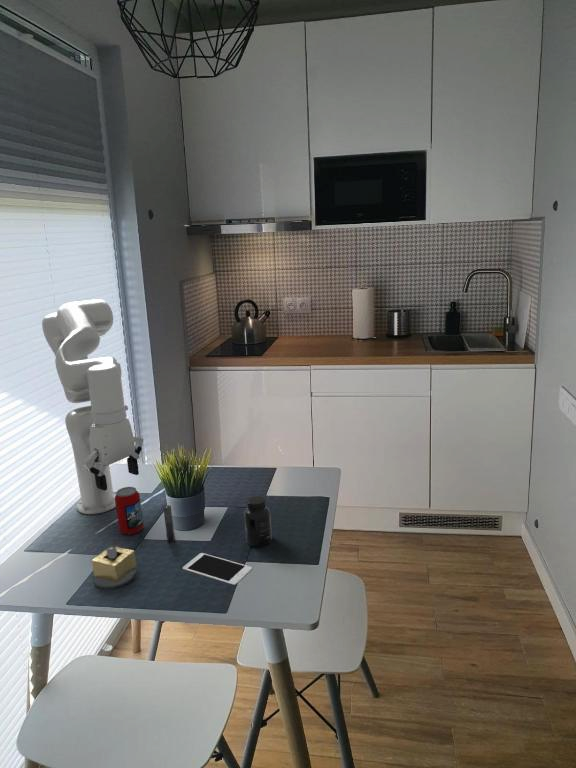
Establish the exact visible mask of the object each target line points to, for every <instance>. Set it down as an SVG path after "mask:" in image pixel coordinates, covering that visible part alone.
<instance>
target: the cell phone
mask: <svg viewBox="0 0 576 768" xmlns="http://www.w3.org/2000/svg"><path fill="white" fill-rule="evenodd" d="M182 570H183V571H187V572H191V573H193V574H197V575H200V576H203V577H207V578H209V579H210V578H211V579H212V580H217V581H219V582H223V583H226V584H230V585H233V586H235V585H237V584H238V583H239V582H240V581H241V580H242V579H243V578H245V577H246V576H247V575H248V574H249V573H250V572H251V571H252V570H253V567H252V566H249V565H246V564H242V563H239V562H235V561H233V560H228V559H225V558H221V557H217V556H214V555H211V554H207V553H205V552H200V553H198V554H197V555H196V556H195V557H193V558H192V559H191V560H190V561H189V562H188V563H186V564H185V565H183V567H182Z"/></svg>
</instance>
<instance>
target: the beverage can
mask: <svg viewBox="0 0 576 768" xmlns="http://www.w3.org/2000/svg"><path fill="white" fill-rule="evenodd" d="M115 494H116V496H115V505H116V507H115V512H116V518H117V524H118V530H119V532H121V534H125V535H133V534H136V533H139V532H140V531H142V529H143V528H144V519H143V518H144V517H143V511H142V510H143V509H142V504H141V496H140V493H139V491H138V490H137V488H136V487H134V486H125V487H122V488H119V489H118V490H117V491H116V492H115Z"/></svg>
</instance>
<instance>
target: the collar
mask: <svg viewBox="0 0 576 768" xmlns="http://www.w3.org/2000/svg"><path fill="white" fill-rule="evenodd" d="M115 547H116V551H117V558H116V559H115V560H110V559H108V556H107V550H106V549H105V550H104V551H102V552H101V553H100V554H98V555H97V556H95V558H93V559H91V562H92V565H91V566H92V569H93V576H94V577H97V578H101V579H105V580H109V581H113V582H117V583H118V582H119V581H120V580H121V579H122V578H124V577H125V576H126V575H127V574H128V573H130V572H131V571H132V570H133V569H134V568H136V569H137V563H136V562H137V561H136V556H135V554H136V553H135V550H133V549H129V548H123V547H119V546H115Z"/></svg>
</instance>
